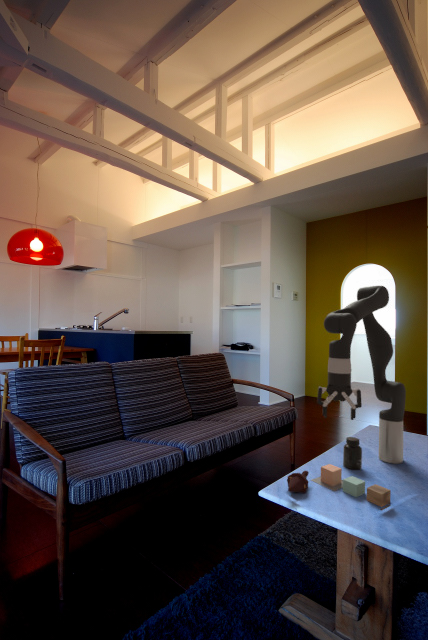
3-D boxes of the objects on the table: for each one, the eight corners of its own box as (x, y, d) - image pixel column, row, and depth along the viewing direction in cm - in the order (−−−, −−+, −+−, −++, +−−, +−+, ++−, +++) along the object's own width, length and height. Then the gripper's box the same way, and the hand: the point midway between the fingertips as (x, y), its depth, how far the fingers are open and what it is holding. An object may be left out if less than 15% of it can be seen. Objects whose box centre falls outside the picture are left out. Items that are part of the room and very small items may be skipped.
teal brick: (351, 490, 121) (351, 475, 121) (364, 496, 117) (365, 481, 117) (342, 494, 118) (342, 479, 118) (356, 500, 114) (356, 485, 114)
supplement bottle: (363, 473, 135) (363, 442, 135) (344, 471, 137) (345, 440, 137) (359, 466, 142) (360, 436, 142) (341, 465, 143) (342, 435, 144)
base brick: (329, 477, 129) (329, 463, 129) (341, 482, 125) (341, 468, 125) (320, 481, 126) (320, 466, 126) (332, 486, 122) (332, 471, 122)
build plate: (327, 476, 132) (327, 473, 132) (351, 486, 124) (351, 483, 124) (310, 482, 126) (310, 480, 126) (334, 494, 118) (334, 491, 118)
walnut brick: (375, 499, 115) (375, 484, 115) (390, 506, 111) (390, 490, 111) (366, 503, 112) (366, 487, 112) (381, 510, 108) (382, 494, 108)
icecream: (302, 485, 110) (318, 474, 122) (281, 473, 114) (298, 463, 126) (296, 506, 110) (312, 492, 122) (275, 493, 114) (293, 481, 127)
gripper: (360, 371, 123) (359, 417, 123) (317, 368, 127) (316, 414, 127) (363, 373, 116) (362, 423, 116) (318, 371, 120) (317, 419, 120)
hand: (338, 418), depth 121 cm, fingers open, 8 cm apart
